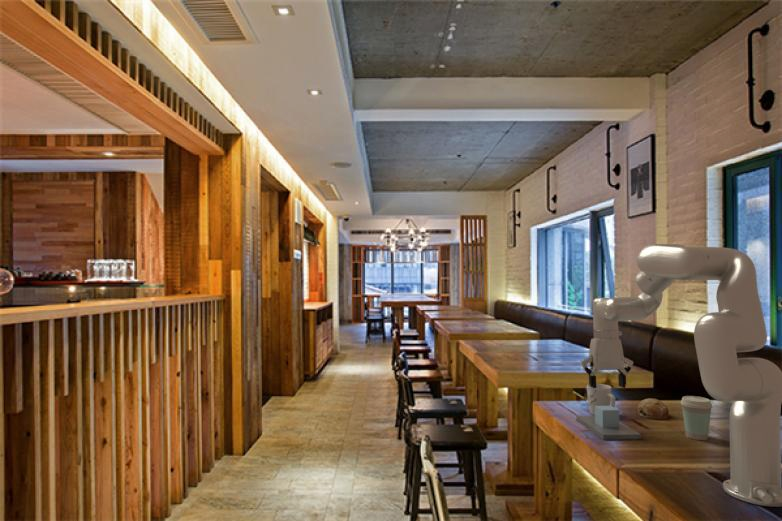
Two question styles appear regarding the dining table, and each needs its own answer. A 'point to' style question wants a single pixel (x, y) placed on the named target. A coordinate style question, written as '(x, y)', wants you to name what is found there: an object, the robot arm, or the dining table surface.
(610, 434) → the board
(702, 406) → the coffee cup
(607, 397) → the mug
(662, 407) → the bread roll
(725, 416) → the dining table surface
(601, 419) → the cube
